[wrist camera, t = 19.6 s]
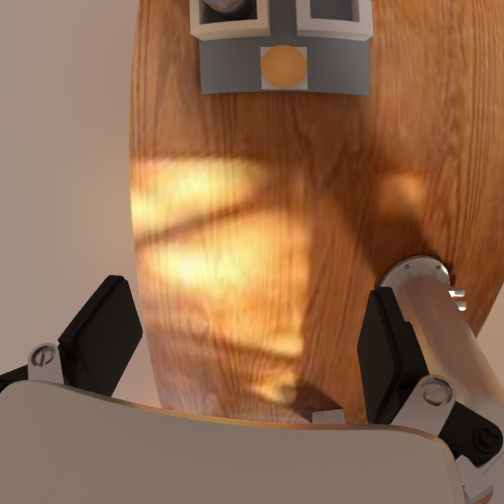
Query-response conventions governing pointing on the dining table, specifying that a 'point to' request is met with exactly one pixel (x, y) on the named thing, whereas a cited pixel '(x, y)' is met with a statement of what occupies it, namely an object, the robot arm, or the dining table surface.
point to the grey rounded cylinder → (231, 9)
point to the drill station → (286, 33)
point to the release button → (283, 66)
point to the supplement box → (328, 417)
